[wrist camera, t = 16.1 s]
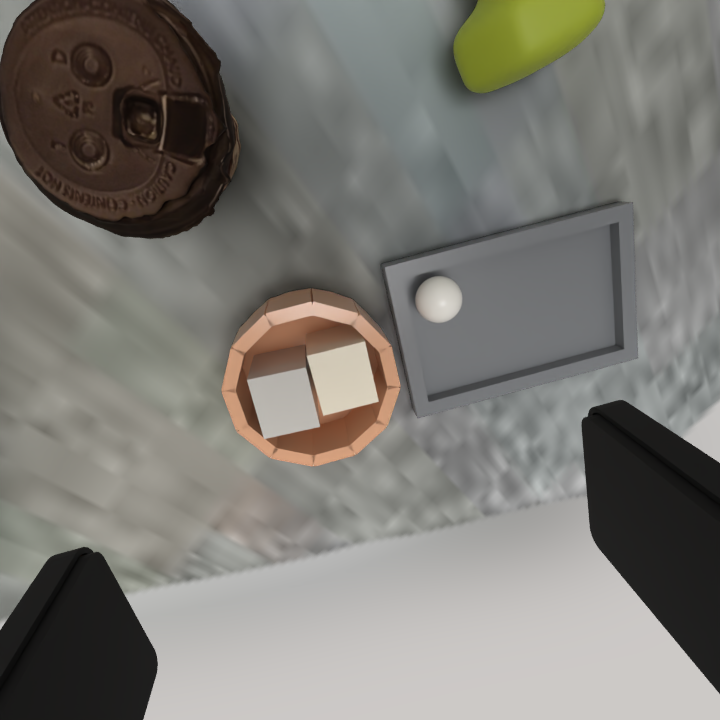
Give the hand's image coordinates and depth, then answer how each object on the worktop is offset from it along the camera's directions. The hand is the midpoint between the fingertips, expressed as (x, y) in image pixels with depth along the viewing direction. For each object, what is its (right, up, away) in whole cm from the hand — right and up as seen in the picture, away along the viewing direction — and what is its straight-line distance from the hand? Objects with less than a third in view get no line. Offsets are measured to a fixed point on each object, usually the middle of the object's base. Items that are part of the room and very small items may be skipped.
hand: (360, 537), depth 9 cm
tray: (+11, +7, +25) cm, 28 cm away
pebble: (+5, +8, +23) cm, 25 cm away
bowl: (-3, +3, +24) cm, 25 cm away
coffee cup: (-10, +16, +19) cm, 27 cm away
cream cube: (-1, +4, +24) cm, 24 cm away
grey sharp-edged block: (-5, +2, +24) cm, 25 cm away
